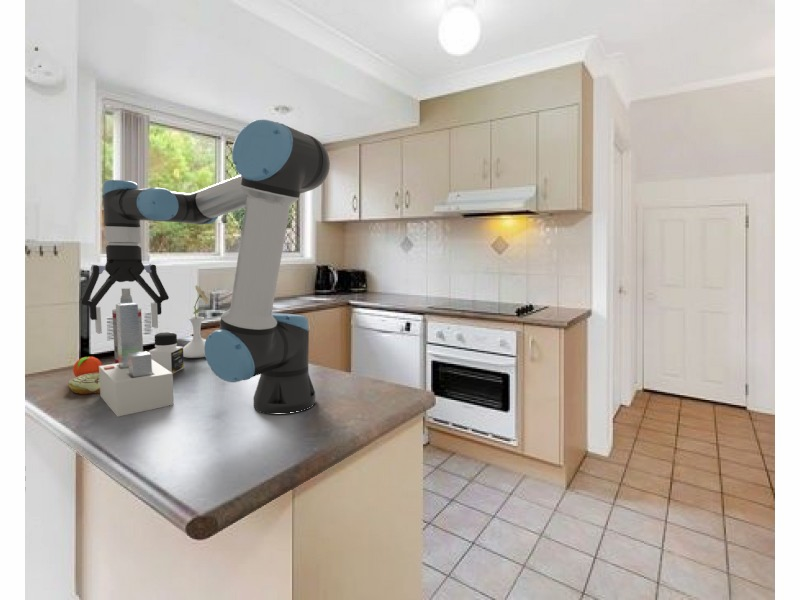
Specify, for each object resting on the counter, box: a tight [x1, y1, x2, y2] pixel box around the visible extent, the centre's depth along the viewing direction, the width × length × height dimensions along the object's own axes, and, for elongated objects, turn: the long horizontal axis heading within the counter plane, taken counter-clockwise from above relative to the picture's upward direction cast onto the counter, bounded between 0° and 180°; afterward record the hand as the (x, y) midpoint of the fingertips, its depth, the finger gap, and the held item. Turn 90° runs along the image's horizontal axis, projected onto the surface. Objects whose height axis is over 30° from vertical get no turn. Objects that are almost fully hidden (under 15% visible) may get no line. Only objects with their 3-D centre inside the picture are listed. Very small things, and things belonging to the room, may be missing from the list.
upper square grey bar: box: [115, 302, 140, 369], centre depth 114 cm, size 4×4×18 cm
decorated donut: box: [68, 373, 100, 395], centre depth 120 cm, size 10×11×4 cm
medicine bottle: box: [148, 331, 185, 375], centre depth 138 cm, size 7×7×12 cm
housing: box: [99, 359, 175, 418], centre depth 112 cm, size 12×18×8 cm, turn 44°
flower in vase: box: [182, 284, 211, 359], centre depth 156 cm, size 13×11×25 cm
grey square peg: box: [128, 350, 152, 378], centre depth 108 cm, size 4×4×13 cm
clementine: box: [72, 355, 103, 377], centre depth 126 cm, size 8×7×7 cm
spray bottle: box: [111, 287, 144, 364], centre depth 142 cm, size 8×8×25 cm
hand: (127, 329), depth 114 cm, fingers open, 12 cm apart
